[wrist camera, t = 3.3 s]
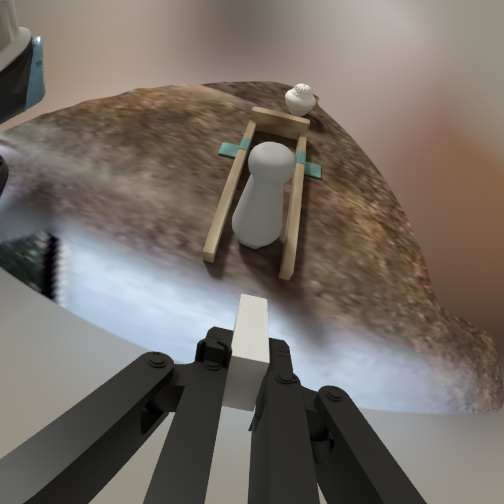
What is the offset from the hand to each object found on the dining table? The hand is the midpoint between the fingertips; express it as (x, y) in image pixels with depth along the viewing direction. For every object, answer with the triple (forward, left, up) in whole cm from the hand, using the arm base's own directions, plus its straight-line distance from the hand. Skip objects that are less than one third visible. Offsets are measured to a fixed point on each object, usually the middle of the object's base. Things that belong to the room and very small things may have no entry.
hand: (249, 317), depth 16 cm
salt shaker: (-1, +15, -12) cm, 19 cm away
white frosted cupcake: (+2, +48, -12) cm, 49 cm away
